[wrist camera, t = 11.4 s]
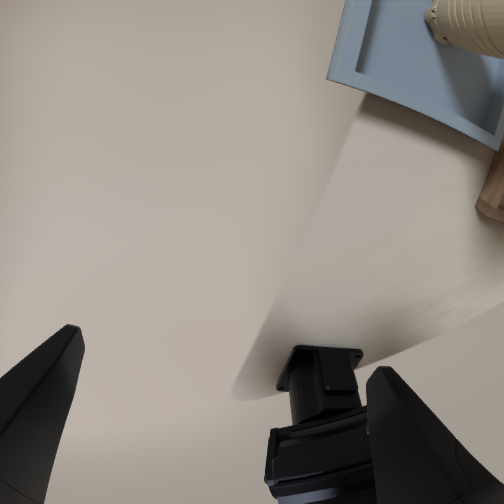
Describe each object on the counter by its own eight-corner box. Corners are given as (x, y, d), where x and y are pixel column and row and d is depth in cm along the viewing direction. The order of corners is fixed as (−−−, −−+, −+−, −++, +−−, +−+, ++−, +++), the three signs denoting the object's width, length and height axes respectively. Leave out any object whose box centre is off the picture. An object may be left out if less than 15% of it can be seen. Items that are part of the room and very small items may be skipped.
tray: (480, 142, 17) (497, 151, 15) (325, 79, 15) (335, 81, 13) (512, -7, 10) (530, -8, 8) (365, -93, 9) (377, -105, 7)
